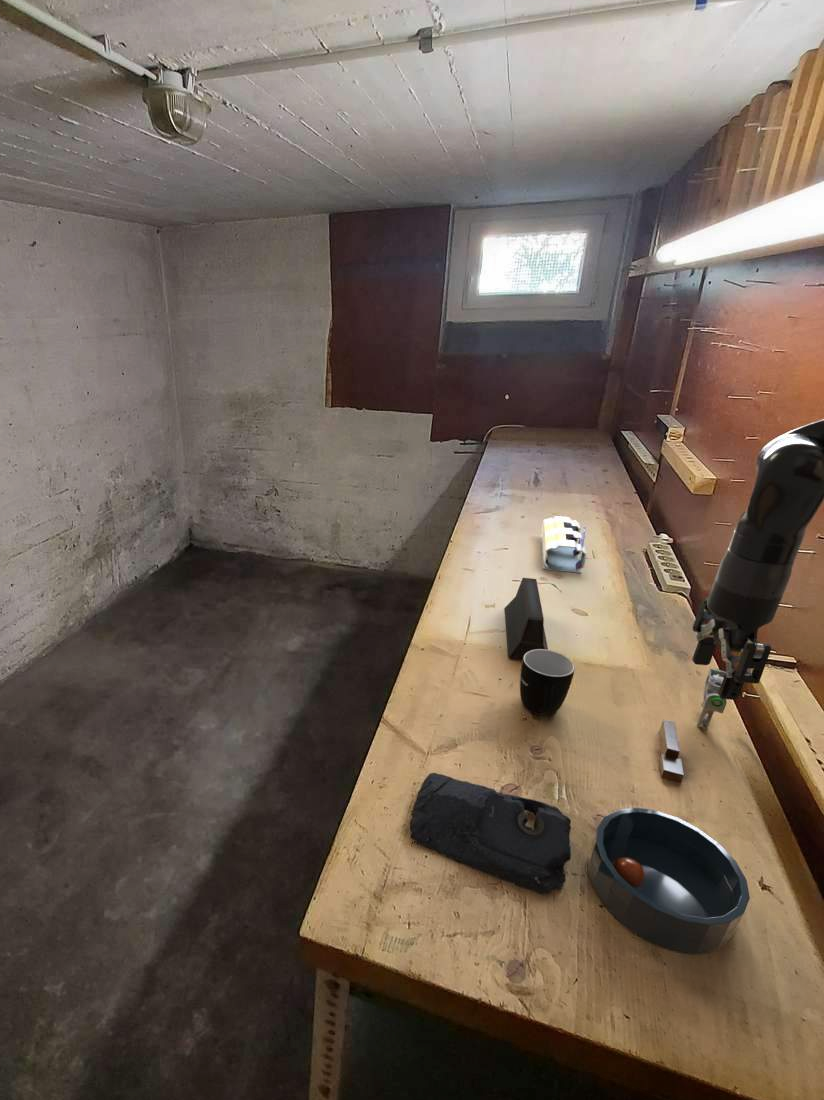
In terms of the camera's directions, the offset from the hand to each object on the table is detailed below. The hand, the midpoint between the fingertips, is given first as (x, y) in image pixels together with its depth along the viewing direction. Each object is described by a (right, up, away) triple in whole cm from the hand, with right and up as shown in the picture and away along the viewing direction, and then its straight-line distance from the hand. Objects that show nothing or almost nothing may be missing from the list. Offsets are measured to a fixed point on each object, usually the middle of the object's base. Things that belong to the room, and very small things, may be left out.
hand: (712, 679), depth 84 cm
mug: (-15, -10, +24) cm, 30 cm away
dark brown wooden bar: (+2, -15, +13) cm, 20 cm away
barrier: (-7, +2, +49) cm, 49 cm away
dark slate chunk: (-34, -23, +1) cm, 41 cm away
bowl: (-14, -27, -9) cm, 31 cm away
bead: (-18, -24, -9) cm, 32 cm away
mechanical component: (+12, -12, +19) cm, 26 cm away
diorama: (+20, +22, +88) cm, 93 cm away
